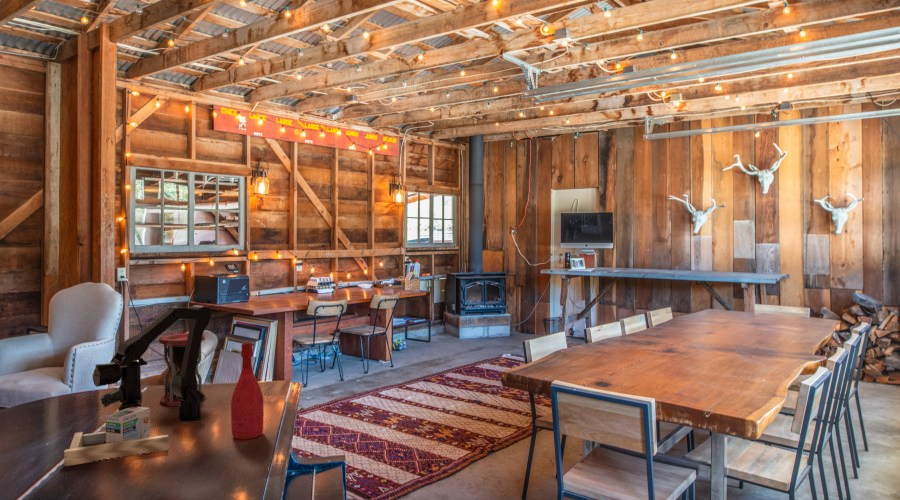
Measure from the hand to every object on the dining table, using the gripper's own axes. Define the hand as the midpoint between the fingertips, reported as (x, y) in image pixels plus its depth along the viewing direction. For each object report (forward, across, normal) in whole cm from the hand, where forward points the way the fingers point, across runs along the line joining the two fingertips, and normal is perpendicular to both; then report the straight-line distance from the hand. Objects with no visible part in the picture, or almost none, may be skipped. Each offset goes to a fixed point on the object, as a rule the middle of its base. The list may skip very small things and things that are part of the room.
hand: (131, 427), depth 188 cm
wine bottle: (+2, +20, +33) cm, 39 cm away
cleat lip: (+2, +6, -10) cm, 11 cm away
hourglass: (+2, -33, +17) cm, 37 cm away
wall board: (+2, +14, -3) cm, 14 cm away
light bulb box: (+2, +14, 0) cm, 14 cm away
